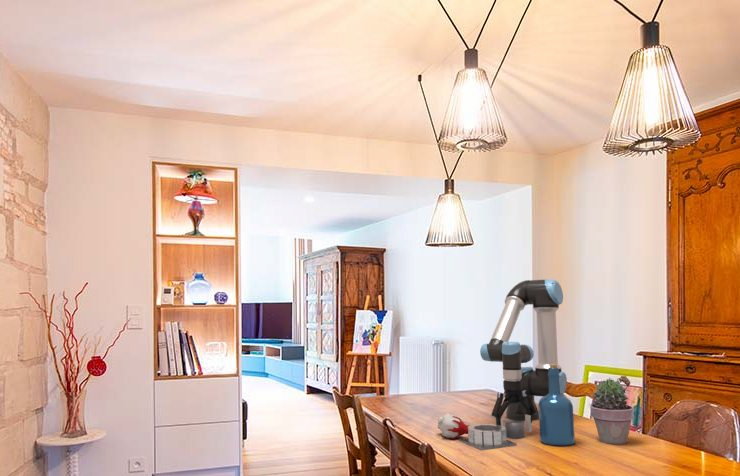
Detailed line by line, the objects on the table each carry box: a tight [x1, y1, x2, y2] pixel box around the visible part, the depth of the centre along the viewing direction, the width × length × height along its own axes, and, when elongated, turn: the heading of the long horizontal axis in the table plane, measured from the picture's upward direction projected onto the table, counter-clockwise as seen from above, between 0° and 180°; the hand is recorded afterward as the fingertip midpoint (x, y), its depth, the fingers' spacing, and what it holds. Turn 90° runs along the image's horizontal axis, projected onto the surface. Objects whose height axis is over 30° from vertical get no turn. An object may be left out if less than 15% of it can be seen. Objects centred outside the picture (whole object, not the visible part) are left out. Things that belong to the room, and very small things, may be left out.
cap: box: [504, 419, 526, 440], centre depth 232 cm, size 8×8×6 cm
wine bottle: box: [538, 364, 576, 447], centre depth 223 cm, size 14×13×30 cm
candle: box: [437, 412, 470, 440], centre depth 233 cm, size 9×11×15 cm
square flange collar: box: [458, 423, 518, 451], centre depth 223 cm, size 16×16×6 cm
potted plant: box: [589, 375, 634, 445], centre depth 223 cm, size 18×20×25 cm
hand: (514, 432), depth 232 cm, fingers open, 13 cm apart
